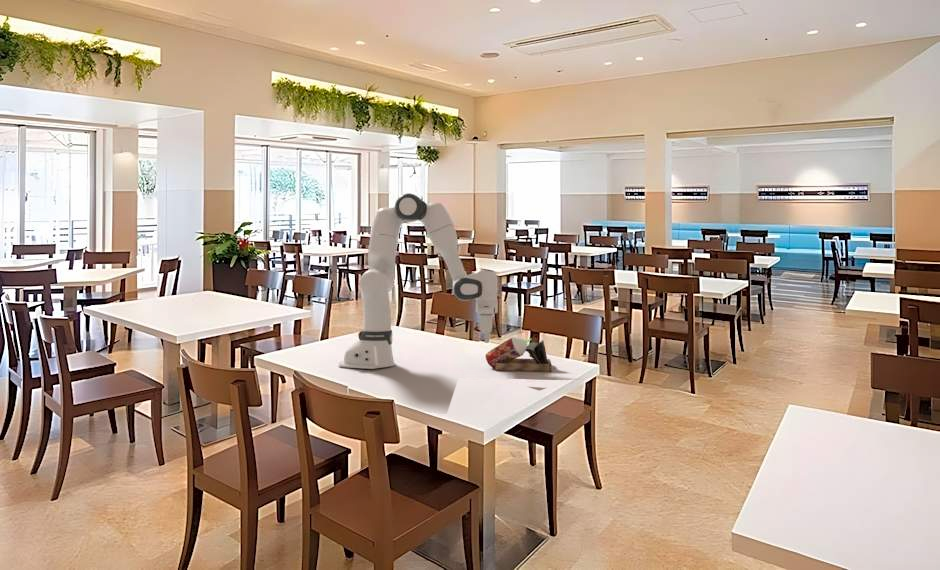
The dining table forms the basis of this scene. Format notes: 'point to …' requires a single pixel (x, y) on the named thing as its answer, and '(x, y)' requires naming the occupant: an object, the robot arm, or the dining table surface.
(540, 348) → the bell
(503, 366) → the cradle
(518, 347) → the smoothie
